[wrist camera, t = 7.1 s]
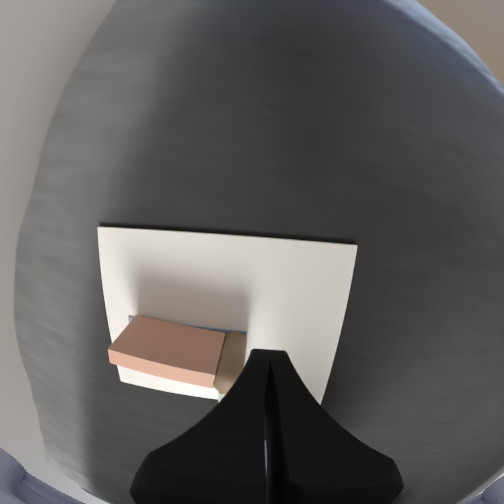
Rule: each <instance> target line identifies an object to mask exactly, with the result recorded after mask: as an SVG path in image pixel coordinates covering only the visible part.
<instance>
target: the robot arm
mask: <svg viewBox="0 0 504 504" xmlns="http://www.w3.org/2000/svg"><path fill="white" fill-rule="evenodd" d="M264 421H265V434H264ZM265 435H266V440H265ZM403 487H404V484H403V481H402V478H401V475H400V472H399V470H398V468H397V466H396V464H395V462H394V460H393V459H391V458H389V457H387V456H385V455H383V454H382V453H380V452H378V451H376V450H374V449H372V448H370V447H369V446H367V445H366V444H364V443H363V442H361V441H360V440H358V439H357V438H355V437H354V436H353V435H351V434H350V433H349V432H348V431H346V430H345V429H344V428H343V427H342V426H340V425H339V424H338V423H337V422H336V421H335V420H334V419H333V418H332V417H331V416H330V415H329V414H328V413H327V412H326V411H325V410H324V409H323V408H322V407H321V405H320V404H319V403H318V402H317V401H316V399H315V398H314V397H313V395H312V394H311V393H310V391H309V390H308V388H307V387H306V386H305V384H304V382H303V381H302V379H301V378H300V376H299V375H298V373H297V371H296V369H295V368H294V366H293V364H292V362H291V360H290V358H289V355H288V353H287V352H286V351H285V350H269V349H255V348H254V349H252V350H251V351H250V355H249V358H248V360H247V362H246V364H245V366H244V368H243V370H242V372H241V373H240V375H239V376H238V378H237V380H236V381H235V383H234V384H233V385H232V387H231V388H230V389H229V391H228V392H227V393H226V395H225V396H224V397H223V398H222V399H221V400H220V402H219V403H218V404H217V405H216V406H215V407H214V408H213V409H212V410H211V411H210V412H209V413H208V414H207V415H206V416H204V417H203V418H202V419H201V420H200V421H199V422H198V423H196V424H195V425H194V426H193V427H191V428H190V429H188V430H187V431H186V432H184V433H183V434H181V435H180V436H178V437H177V438H175V439H174V440H172V441H170V442H169V443H167V444H165V445H163V446H161V447H159V448H157V449H155V450H154V451H152V452H150V453H149V454H148V455H147V457H146V458H145V459H144V461H143V462H142V464H141V466H140V467H139V469H138V471H137V472H136V475H135V477H134V480H133V482H132V485H131V488H130V491H129V492H130V495H131V497H132V498H133V500H134V501H135V503H136V504H390V503H391V502H392V501H393V500H394V499H395V498H396V497H397V496H398V495H399V494H400V493H401V491H402V490H403ZM0 504H85V503H82V502H80V501H78V500H76V499H74V498H72V497H70V496H68V495H66V494H63V493H62V492H60V491H58V490H56V489H55V488H53V487H51V486H49V485H47V484H46V483H44V482H42V481H41V480H39V479H37V478H36V477H34V476H32V475H31V474H29V473H28V472H26V470H25V469H24V467H23V466H22V465H21V464H20V463H19V462H18V461H17V460H16V459H15V458H14V457H12V456H11V455H10V454H8V453H7V452H5V451H4V450H3V449H1V448H0ZM461 504H504V476H503V477H501V478H499V479H498V480H496V481H495V482H493V483H492V484H491V485H490V486H488V487H487V488H486V489H485V490H484V491H483V493H481V494H480V495H478V496H476V497H474V498H472V499H470V500H468V501H466V502H463V503H461Z"/></svg>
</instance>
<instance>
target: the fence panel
mask: <svg viewBox="0 0 504 504" xmlns="http://www.w3.org/2000/svg"><path fill="white" fill-rule="evenodd" d="M246 347H247V339H246V337H245V335H244V334H242V333H241V332H238V331H231V332H228V333H227V334H226V335H225V333H224V332H218V331H212V330H207V329H201V328H196V327H191V326H186V325H181V324H176V323H171V322H166V321H162V320H157V319H153V318H148V317H144V316H140V315H136V316H135V317H134V318H133V319H132V320H131V322H130V323H129V324H128V325H127V326H126V327H125V329H124V330H123V331H122V332H121V334H120V335H119V336H118V337H117V338H116V340H115V341H114V342H113V343H112V345H111V346H110V347H109V348H108V353H109V359H110V363H112V364H115V365H119V366H122V367H125V368H129V369H132V370H136V371H139V372H143V373H146V374H150V375H154V376H158V377H162V378H166V379H170V380H174V381H179V382H183V383H188V384H192V385H197V386H202V387H208V388H213V389H214V388H215V389H216V390H217V391H219V392H221V393H224V394H226V393H227V392H228V391H229V389H230V388H231V387H232V385H233V384H234V383H235V381H236V380H237V378H238V376H239V375H240V373H241V372H242V370H243V368H244V364H245V355H246Z"/></svg>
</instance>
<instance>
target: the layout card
mask: <svg viewBox="0 0 504 504" xmlns="http://www.w3.org/2000/svg"><path fill="white" fill-rule="evenodd" d="M98 242H99V255H100V266H101V275H102V284H103V292H104V299H105V306H106V312H107V318H108V324H109V329H110V335H111V340H112V343H113V342H114V341H115V340H116V338H117V337H118V336H119V335H120V334H121V332H122V331H123V330H124V329H125V327H126V326H127V325H128V324H129V323H130V322H131V320H132V319H133V318H134V317H135V316H136V315H140V316H144V317H148V318H153V319H157V320H162V321H166V322H171V323H176V324H181V325H186V326H191V327H196V328H201V329H207V330H212V331H218V332H224V333H225V335H226V334H227V333H228V332H231V331H238V332H241V333H242V334H244V335H245V337H246V339H247V347H246V355H245V364H246V362H247V360H248V358H249V355H250V351H251V350H252V349H254V348H255V349H269V350H285V351H286V352H287V353H288V355H289V358H290V360H291V362H292V364H293V366H294V368H295V369H296V371H297V373H298V375H299V376H300V378H301V379H302V381H303V382H304V384H305V386H306V387H307V388H308V390H309V391H310V393H311V394H312V395H313V397H314V398H315V399H316V401H317V402H318V403H319V404H320V405H321V402H322V399H323V395H324V392H325V389H326V385H327V382H328V378H329V375H330V371H331V368H332V364H333V360H334V357H335V353H336V349H337V345H338V341H339V337H340V333H341V328H342V324H343V320H344V315H345V311H346V306H347V301H348V296H349V291H350V286H351V281H352V275H353V270H354V264H355V258H356V252H357V245H353V244H342V243H331V242H319V241H307V240H295V239H283V238H270V237H257V236H244V235H230V234H216V233H201V232H186V231H171V230H155V229H138V228H121V227H102V226H99V227H98ZM245 364H244V366H245ZM117 367H118V371H119V375H120V379H121V381H122V382H126V383H130V384H134V385H139V386H143V387H148V388H152V389H157V390H162V391H167V392H173V393H178V394H184V395H191V396H197V397H204V398H212V399H218V392H219V391H217V390H216V389H215V388H214V389H213V388H208V387H202V386H197V385H192V384H188V383H183V382H179V381H174V380H170V379H166V378H162V377H158V376H154V375H150V374H146V373H143V372H139V371H136V370H132V369H129V368H125V367H122V366H119V365H117Z"/></svg>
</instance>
